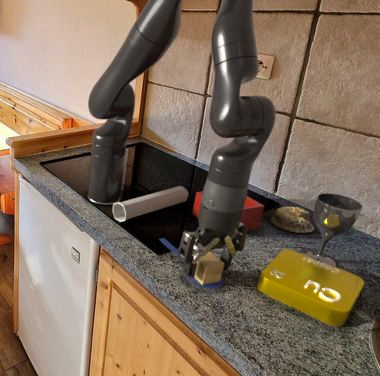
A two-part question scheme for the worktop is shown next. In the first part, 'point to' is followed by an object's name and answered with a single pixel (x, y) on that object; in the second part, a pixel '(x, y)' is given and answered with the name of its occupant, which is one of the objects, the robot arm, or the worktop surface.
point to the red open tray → (249, 214)
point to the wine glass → (333, 220)
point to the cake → (292, 219)
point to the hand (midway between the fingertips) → (206, 271)
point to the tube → (149, 203)
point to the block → (209, 269)
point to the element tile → (311, 286)
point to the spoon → (193, 280)
